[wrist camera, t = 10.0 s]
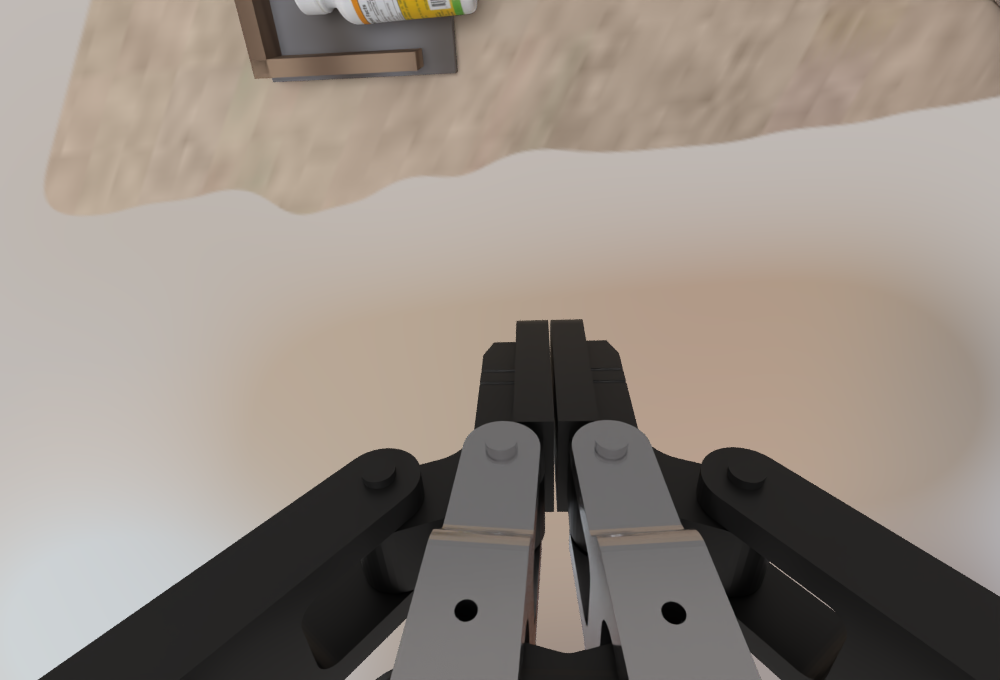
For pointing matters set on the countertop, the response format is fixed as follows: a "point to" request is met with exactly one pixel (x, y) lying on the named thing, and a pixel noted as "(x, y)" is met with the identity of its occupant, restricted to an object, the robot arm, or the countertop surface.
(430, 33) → the u rest
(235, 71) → the countertop surface
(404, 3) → the supplement bottle
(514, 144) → the countertop surface
